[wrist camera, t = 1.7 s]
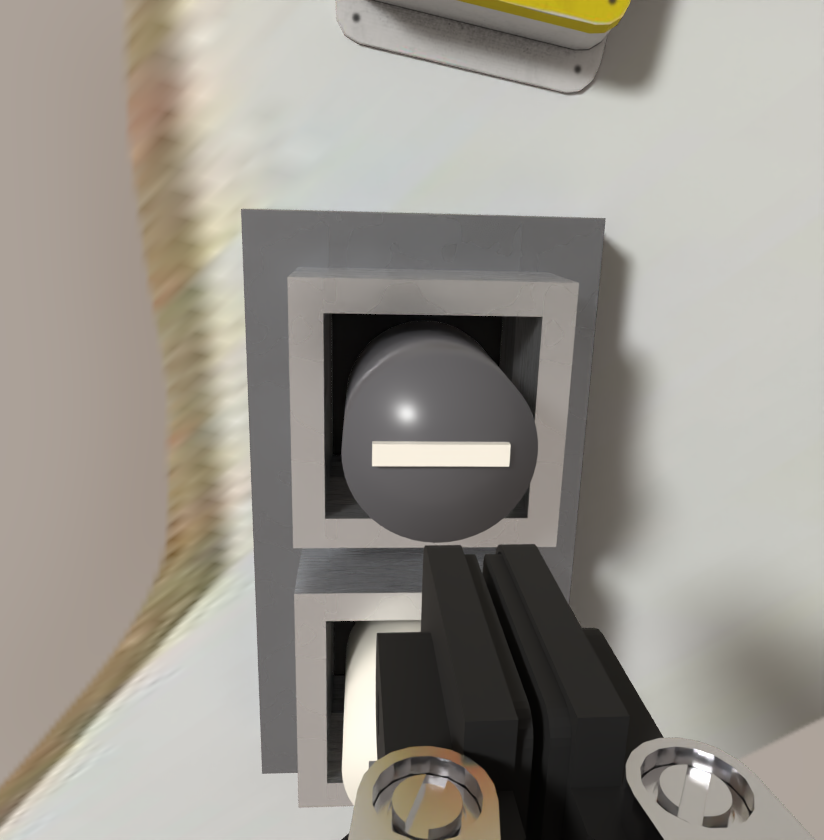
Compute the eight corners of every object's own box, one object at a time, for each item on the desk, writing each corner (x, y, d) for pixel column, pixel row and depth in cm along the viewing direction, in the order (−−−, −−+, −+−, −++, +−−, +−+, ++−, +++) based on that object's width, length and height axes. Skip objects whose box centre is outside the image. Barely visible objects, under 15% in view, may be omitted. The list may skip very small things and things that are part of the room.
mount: (583, 217, 27) (646, 220, 21) (539, 725, 33) (578, 839, 27) (252, 209, 26) (219, 209, 20) (269, 731, 32) (248, 850, 26)
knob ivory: (486, 589, 27) (521, 697, 21) (479, 708, 29) (510, 840, 23) (346, 591, 27) (341, 700, 21) (346, 711, 28) (341, 846, 22)
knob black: (502, 321, 25) (547, 358, 19) (493, 468, 26) (533, 546, 20) (346, 319, 24) (340, 355, 18) (346, 467, 26) (341, 547, 20)
